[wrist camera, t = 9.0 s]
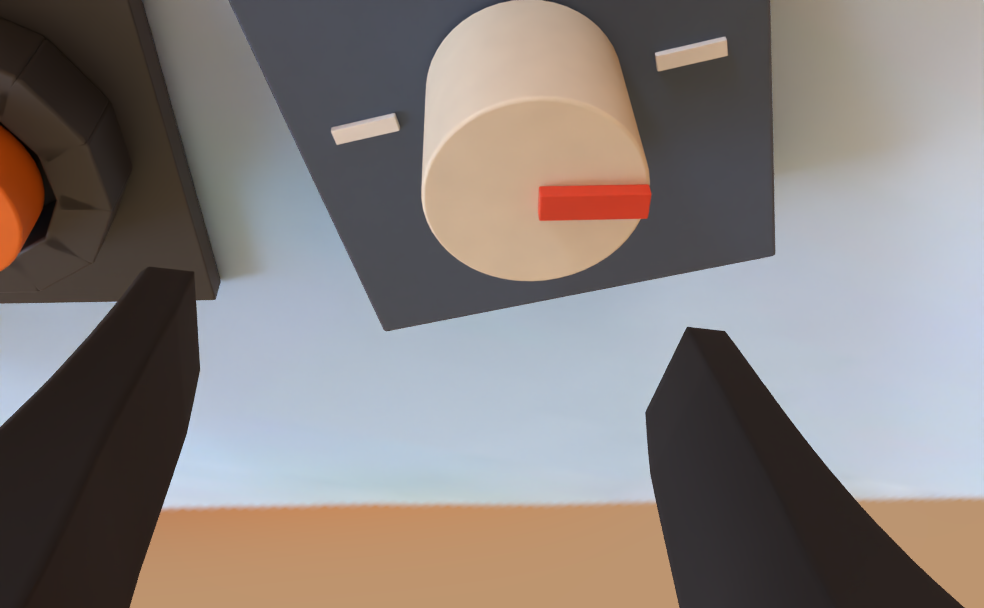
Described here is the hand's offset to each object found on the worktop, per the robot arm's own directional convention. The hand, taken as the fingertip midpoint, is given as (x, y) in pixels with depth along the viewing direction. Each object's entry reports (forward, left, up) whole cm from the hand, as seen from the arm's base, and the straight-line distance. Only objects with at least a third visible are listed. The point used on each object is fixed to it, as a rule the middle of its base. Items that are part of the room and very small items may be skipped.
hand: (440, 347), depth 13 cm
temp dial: (0, +2, -7) cm, 7 cm away
